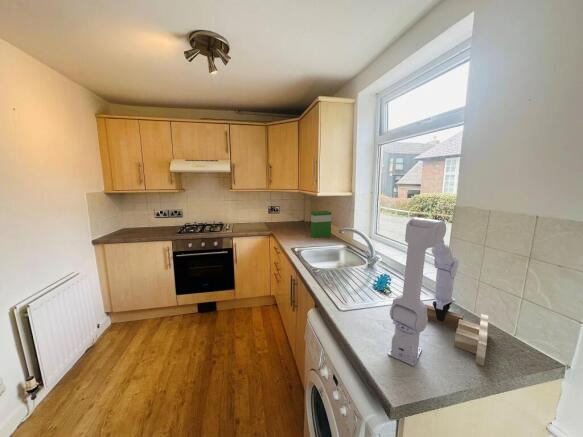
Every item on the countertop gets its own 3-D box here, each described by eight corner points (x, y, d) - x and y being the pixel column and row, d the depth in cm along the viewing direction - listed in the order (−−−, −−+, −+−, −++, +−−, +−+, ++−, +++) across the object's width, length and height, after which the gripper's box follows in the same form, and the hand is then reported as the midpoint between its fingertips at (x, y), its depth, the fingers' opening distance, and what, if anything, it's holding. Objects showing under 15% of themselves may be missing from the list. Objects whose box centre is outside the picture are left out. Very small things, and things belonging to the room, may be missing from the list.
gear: (369, 282, 129) (383, 269, 128) (375, 288, 131) (390, 276, 130) (379, 294, 119) (394, 280, 118) (386, 301, 121) (401, 287, 120)
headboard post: (483, 366, 74) (486, 345, 73) (452, 354, 79) (454, 334, 78) (485, 333, 89) (488, 315, 88) (459, 325, 94) (461, 308, 93)
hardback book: (327, 234, 243) (327, 210, 239) (330, 236, 236) (331, 211, 232) (310, 236, 238) (311, 211, 234) (313, 238, 231) (314, 212, 227)
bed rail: (461, 330, 91) (462, 318, 90) (419, 317, 100) (420, 305, 99) (462, 327, 93) (463, 315, 92) (421, 314, 102) (422, 303, 101)
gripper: (454, 296, 86) (450, 331, 88) (458, 282, 97) (455, 314, 99) (431, 290, 90) (428, 324, 92) (438, 278, 101) (435, 308, 104)
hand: (440, 318), depth 96 cm, fingers closed on bed rail, 2 cm apart
